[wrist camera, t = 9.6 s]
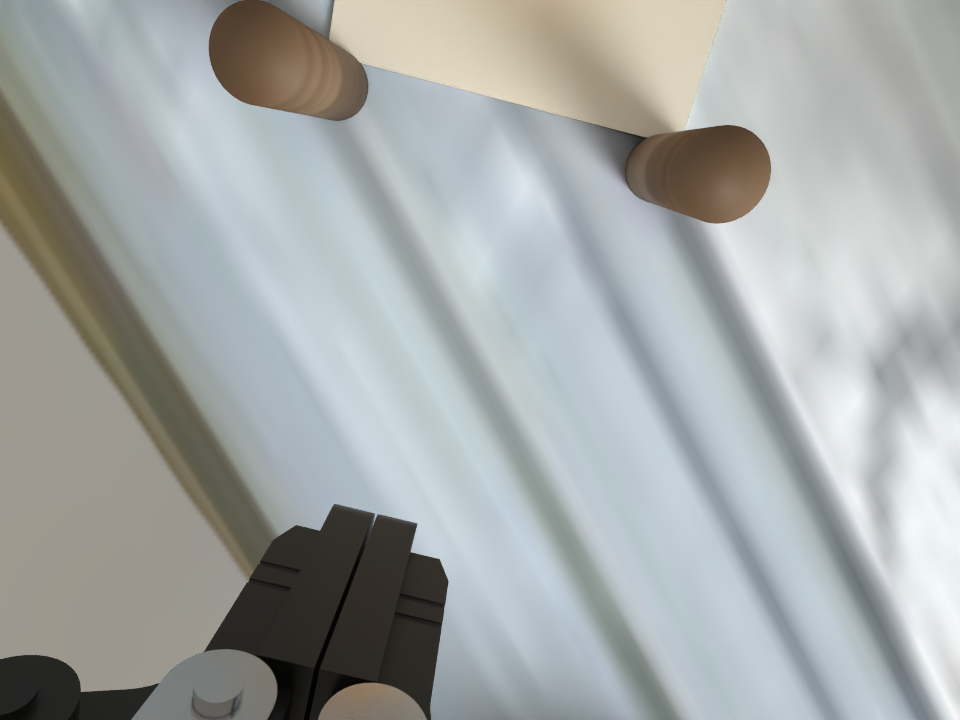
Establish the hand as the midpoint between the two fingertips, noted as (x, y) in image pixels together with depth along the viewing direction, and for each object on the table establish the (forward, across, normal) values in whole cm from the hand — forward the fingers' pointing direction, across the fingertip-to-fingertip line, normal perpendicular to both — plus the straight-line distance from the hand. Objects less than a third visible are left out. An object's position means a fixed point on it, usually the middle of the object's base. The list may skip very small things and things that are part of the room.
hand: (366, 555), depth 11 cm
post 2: (+17, -6, -8) cm, 20 cm away
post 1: (+17, +7, -8) cm, 20 cm away
